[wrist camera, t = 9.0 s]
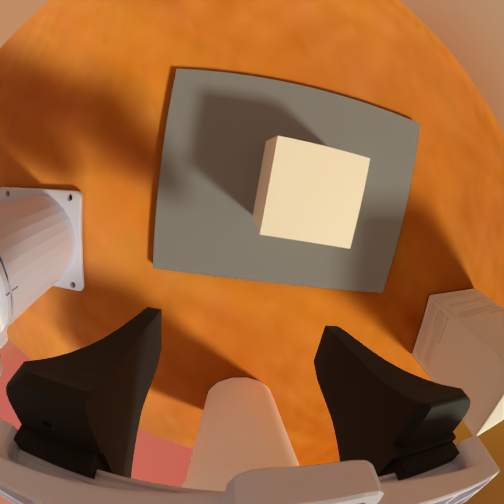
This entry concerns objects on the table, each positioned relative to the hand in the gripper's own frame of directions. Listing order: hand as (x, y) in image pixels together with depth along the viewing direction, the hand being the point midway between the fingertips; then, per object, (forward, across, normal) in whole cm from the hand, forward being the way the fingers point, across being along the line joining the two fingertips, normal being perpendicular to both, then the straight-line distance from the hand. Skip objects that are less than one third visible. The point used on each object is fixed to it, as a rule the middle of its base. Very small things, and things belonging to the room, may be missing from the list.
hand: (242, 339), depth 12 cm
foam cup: (+10, -2, +14) cm, 17 cm away
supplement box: (+10, -22, +4) cm, 24 cm away
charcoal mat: (+9, -3, -6) cm, 12 cm away
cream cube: (+9, -3, -6) cm, 11 cm away
